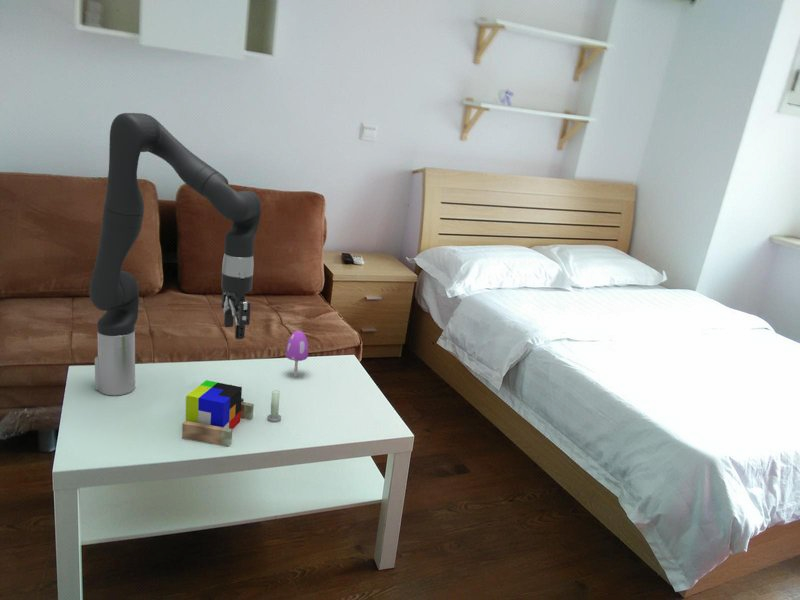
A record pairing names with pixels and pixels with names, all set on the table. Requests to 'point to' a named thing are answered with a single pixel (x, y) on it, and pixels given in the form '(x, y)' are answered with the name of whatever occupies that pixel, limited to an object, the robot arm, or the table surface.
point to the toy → (297, 348)
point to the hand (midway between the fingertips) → (233, 332)
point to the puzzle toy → (214, 404)
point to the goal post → (274, 407)
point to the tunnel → (214, 429)
